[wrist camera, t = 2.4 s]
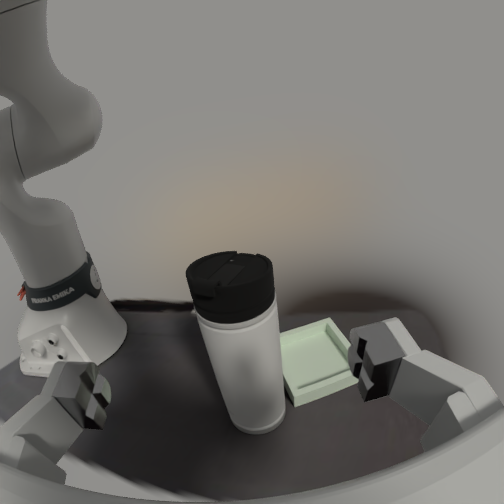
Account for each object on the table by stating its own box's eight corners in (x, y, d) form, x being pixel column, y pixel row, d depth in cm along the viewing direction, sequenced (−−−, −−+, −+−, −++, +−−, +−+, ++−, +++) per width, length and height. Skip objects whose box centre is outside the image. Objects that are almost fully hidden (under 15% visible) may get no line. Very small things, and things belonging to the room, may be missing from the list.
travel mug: (219, 426, 29) (162, 278, 19) (245, 385, 34) (213, 236, 24) (271, 445, 26) (245, 295, 17) (293, 398, 31) (285, 243, 22)
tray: (294, 407, 30) (294, 397, 29) (267, 348, 39) (265, 337, 38) (365, 378, 32) (368, 367, 31) (328, 328, 41) (329, 317, 40)
